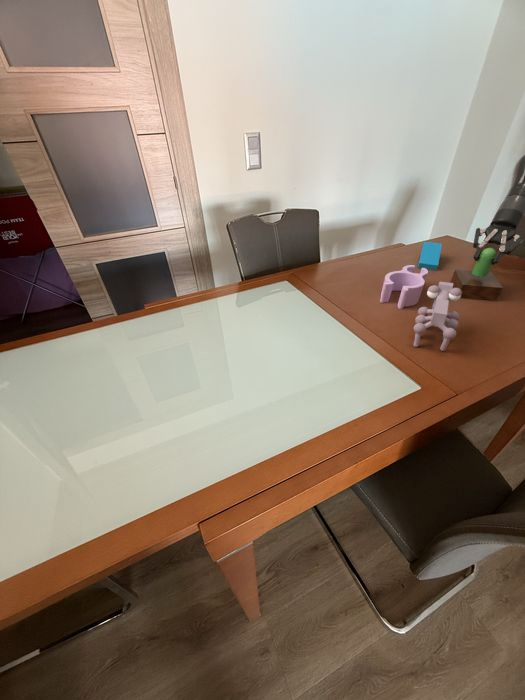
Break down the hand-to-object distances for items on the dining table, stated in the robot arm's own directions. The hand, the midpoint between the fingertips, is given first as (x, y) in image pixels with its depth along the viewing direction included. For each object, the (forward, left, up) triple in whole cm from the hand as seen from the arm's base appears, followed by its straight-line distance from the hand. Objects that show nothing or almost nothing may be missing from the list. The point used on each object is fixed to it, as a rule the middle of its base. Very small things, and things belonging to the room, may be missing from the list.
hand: (484, 261), depth 100 cm
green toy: (-1, -2, -5) cm, 5 cm away
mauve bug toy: (+17, +27, -12) cm, 34 cm away
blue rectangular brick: (+10, -27, -12) cm, 31 cm away
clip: (+23, +5, -12) cm, 27 cm away
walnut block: (-1, -2, -12) cm, 12 cm away
